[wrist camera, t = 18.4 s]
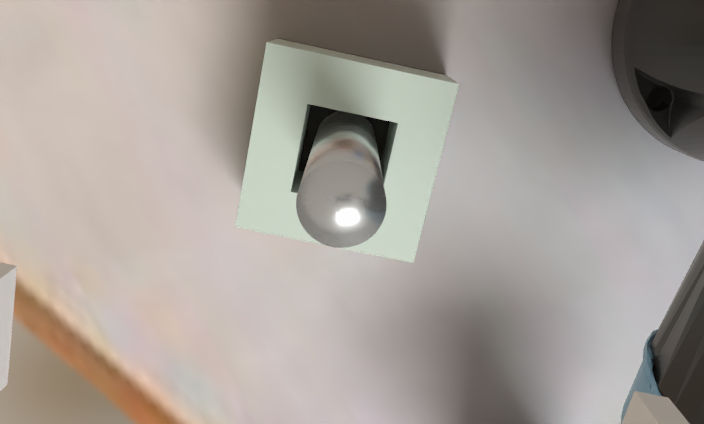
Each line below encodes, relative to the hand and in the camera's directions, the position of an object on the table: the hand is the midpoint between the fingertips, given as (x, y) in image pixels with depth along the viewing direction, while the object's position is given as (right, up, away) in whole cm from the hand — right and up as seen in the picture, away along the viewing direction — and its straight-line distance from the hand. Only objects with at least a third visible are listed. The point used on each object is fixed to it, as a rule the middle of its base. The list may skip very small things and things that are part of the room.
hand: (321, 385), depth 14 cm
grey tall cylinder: (0, +8, +26) cm, 27 cm away
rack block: (0, +8, +26) cm, 27 cm away
